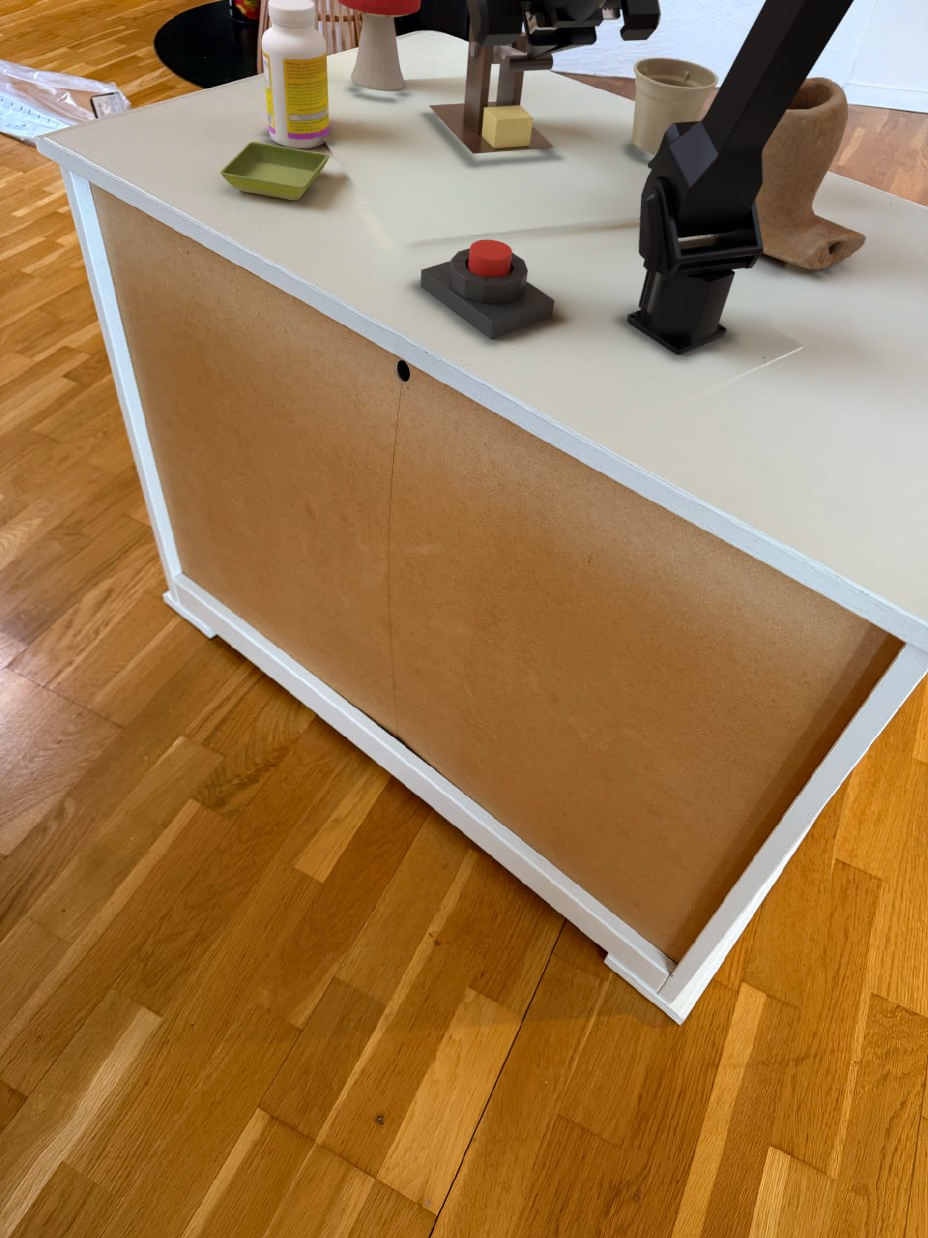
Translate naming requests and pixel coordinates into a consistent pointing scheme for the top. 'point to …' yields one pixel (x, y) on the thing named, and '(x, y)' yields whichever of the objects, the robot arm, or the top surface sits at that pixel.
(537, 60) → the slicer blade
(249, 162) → the olive green shallow tray
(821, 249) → the clay smoking pipe
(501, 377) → the top surface
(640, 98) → the flower pot
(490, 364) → the top surface
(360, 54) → the decorative mushroom
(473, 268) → the button
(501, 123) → the butter
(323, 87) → the supplement bottle
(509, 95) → the slicer
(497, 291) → the box
